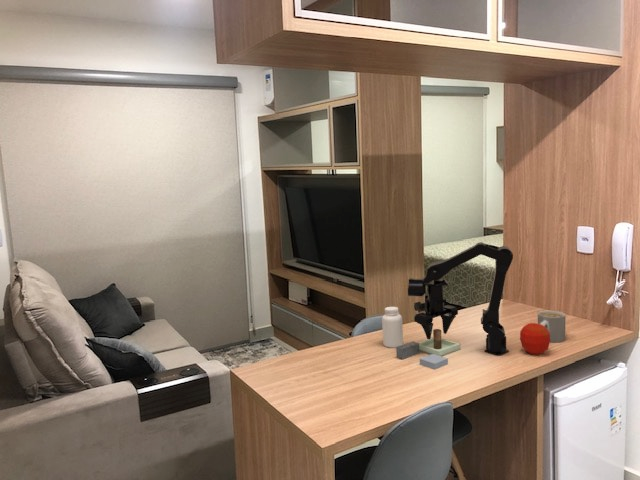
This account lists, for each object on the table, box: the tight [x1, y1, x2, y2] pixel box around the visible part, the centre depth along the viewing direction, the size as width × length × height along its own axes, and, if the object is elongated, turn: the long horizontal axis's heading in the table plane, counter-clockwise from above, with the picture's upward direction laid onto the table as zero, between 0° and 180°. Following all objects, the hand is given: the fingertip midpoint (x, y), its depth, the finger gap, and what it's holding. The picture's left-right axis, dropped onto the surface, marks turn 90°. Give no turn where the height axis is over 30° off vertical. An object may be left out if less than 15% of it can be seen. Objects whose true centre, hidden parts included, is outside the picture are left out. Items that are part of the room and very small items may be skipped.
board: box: [418, 354, 449, 370], centre depth 188 cm, size 7×7×2 cm
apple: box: [519, 322, 551, 356], centre depth 194 cm, size 10×10×12 cm
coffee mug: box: [537, 310, 566, 344], centre depth 206 cm, size 13×10×10 cm
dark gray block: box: [395, 340, 420, 360], centre depth 198 cm, size 3×9×4 cm, turn 127°
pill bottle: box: [381, 306, 404, 349], centre depth 210 cm, size 8×8×15 cm
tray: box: [418, 337, 461, 357], centre depth 203 cm, size 12×12×2 cm
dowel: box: [432, 328, 442, 349], centre depth 202 cm, size 3×3×7 cm
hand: (436, 336), depth 202 cm, fingers open, 9 cm apart
